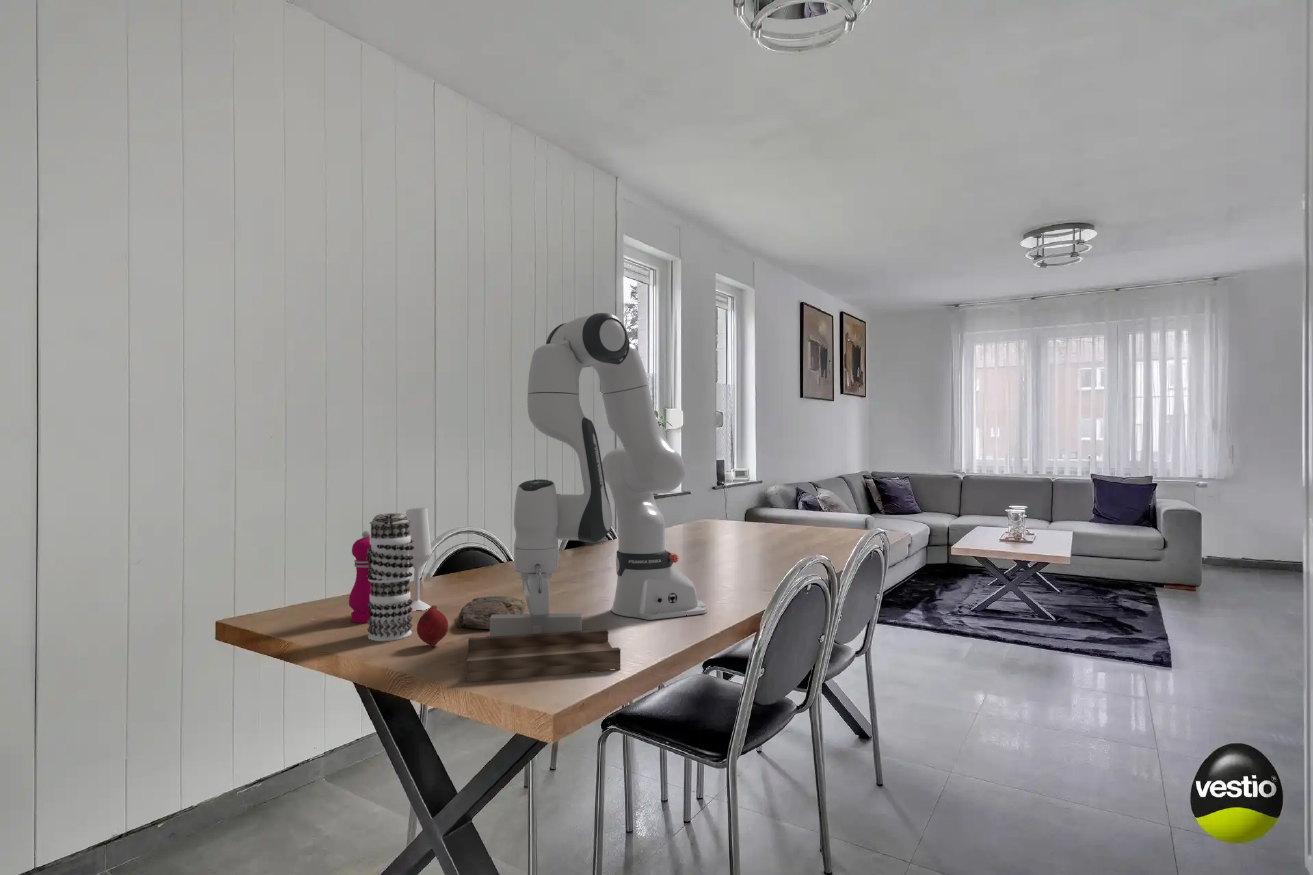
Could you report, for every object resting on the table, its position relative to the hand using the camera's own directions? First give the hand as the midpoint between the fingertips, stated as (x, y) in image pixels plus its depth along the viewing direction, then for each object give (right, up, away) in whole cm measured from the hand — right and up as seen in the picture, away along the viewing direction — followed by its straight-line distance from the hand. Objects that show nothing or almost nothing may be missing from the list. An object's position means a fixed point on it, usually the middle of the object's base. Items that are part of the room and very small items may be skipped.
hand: (536, 629), depth 140 cm
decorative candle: (-31, -2, +4) cm, 31 cm away
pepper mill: (-41, -3, +17) cm, 44 cm away
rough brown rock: (-14, -3, +16) cm, 21 cm away
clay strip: (0, -2, 0) cm, 2 cm away
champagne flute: (-34, -3, +28) cm, 44 cm away
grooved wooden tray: (+4, -2, -15) cm, 15 cm away
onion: (-20, -2, -4) cm, 20 cm away
